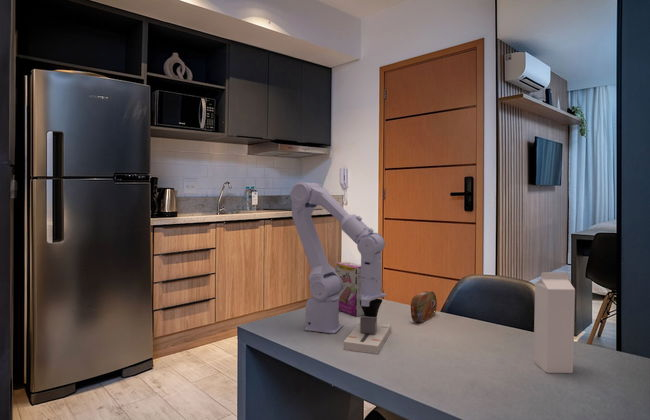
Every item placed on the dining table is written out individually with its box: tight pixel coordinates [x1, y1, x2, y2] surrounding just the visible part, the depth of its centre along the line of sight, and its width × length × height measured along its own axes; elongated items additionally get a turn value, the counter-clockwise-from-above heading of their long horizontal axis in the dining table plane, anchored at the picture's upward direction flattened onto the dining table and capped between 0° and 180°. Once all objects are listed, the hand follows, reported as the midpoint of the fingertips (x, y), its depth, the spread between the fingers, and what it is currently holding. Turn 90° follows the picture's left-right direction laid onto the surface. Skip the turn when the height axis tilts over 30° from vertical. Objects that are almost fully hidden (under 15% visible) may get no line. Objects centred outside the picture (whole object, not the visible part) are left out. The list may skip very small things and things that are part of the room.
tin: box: [410, 290, 438, 324], centre depth 131 cm, size 15×3×8 cm, turn 142°
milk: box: [533, 271, 576, 374], centre depth 94 cm, size 6×6×22 cm
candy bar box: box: [335, 261, 364, 318], centre depth 138 cm, size 11×5×16 cm, turn 37°
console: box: [342, 322, 392, 355], centre depth 111 cm, size 9×18×2 cm, turn 160°
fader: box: [359, 315, 378, 334], centre depth 111 cm, size 4×2×4 cm, turn 70°
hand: (370, 325), depth 114 cm, fingers closed
